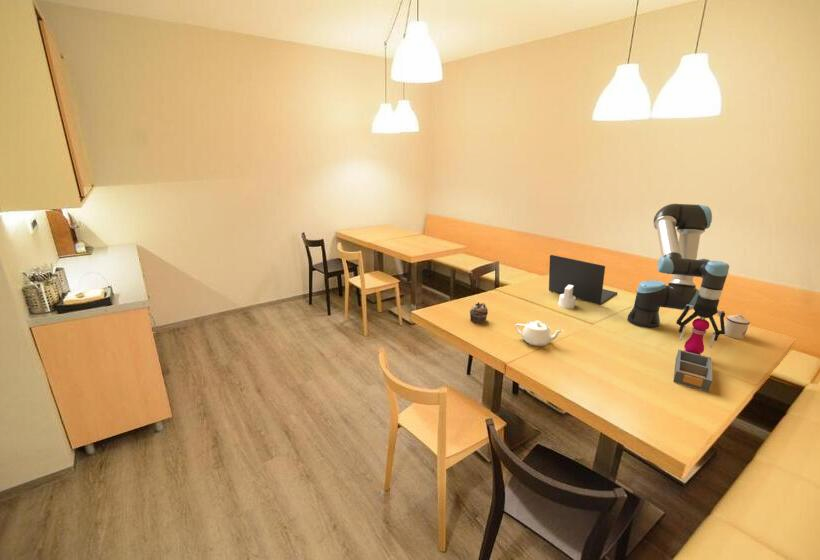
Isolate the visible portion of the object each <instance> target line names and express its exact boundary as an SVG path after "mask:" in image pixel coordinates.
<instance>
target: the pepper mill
mask: <svg viewBox="0 0 820 560" xmlns="http://www.w3.org/2000/svg"><path fill="white" fill-rule="evenodd" d="M691 324H692V328H691V332H692V333H691V336H690V337H689V338H688V339H687V340H686V341H685V343H684V345H683V347H684V350H683V351H687V352H691V353H695V354H699V355H702V354H703V352H704V351H705V344H704V336H705V335H706V332H707V330H708V329H709V328H710V322H709V321H708V320H706V318H705V317H699V318H694V320H692V322H691Z"/></svg>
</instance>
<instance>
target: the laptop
mask: <svg viewBox="0 0 820 560" xmlns="http://www.w3.org/2000/svg"><path fill="white" fill-rule="evenodd" d="M605 272H606V265H602V264H598V263H594V262H587V261H583V260H578V259H574V258H569V257H565V256H564V257H563V256H560V255H554V254H550V255H549V271H548V273H549V274H548V275H549V276H548V291H549V292H551V293H552V292H553V293H555V294H559V295H561V294H564V290H565V288H566V287H567V286H568V285H573V286H574V287H573V293H572V295H573V296H575V297H576V299H577V300H581V301H584V302H585V301H586V302H588V303H592V304H595V303H596V305H599V306H601V305H602V304H605V302H607V301H608V300H610V299H611V298H613V297H615V296H616V295H617V294H618V292H617V291H613V290H610V289H605V288H604V281H605Z"/></svg>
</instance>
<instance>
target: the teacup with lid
mask: <svg viewBox="0 0 820 560" xmlns="http://www.w3.org/2000/svg"><path fill="white" fill-rule="evenodd" d="M750 324H751V322H750V320H749V319H747V318H745V317H744V316H743V314H741V313H737V314H735V315H733V314H732V315H727V316H726V319H725V322H724V327H725V334H724V336H725V337H728V338H732V339H736V340H738V339H739V340H742V339H744V338H745V337H746V334H747V330H748V328H749V325H750Z"/></svg>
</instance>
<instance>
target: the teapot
mask: <svg viewBox="0 0 820 560" xmlns="http://www.w3.org/2000/svg"><path fill="white" fill-rule="evenodd" d="M514 326H515V330H516V331H517V332H518V333H519V334H520V335H521V337H522V339H523V340H524V341H525V343H526V344H528V345H531V346H535V347H543V346H545V345H548V344H549V343H551V341H552V342H553V341H554V340H555V339H557V337H558V335H559V333H561V332H564V330H563V329H558V330H556V331H555V333H554V334H552V332H551V329H550V327H549V325H548V324H547V323H544V322H542V321H540V320H533V321H532V320H531V321H528V322H527V323H526V324H524V323H516V324H515V325H514ZM519 326H520V327H523V329H522V331H521V330H520V329H519Z"/></svg>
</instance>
